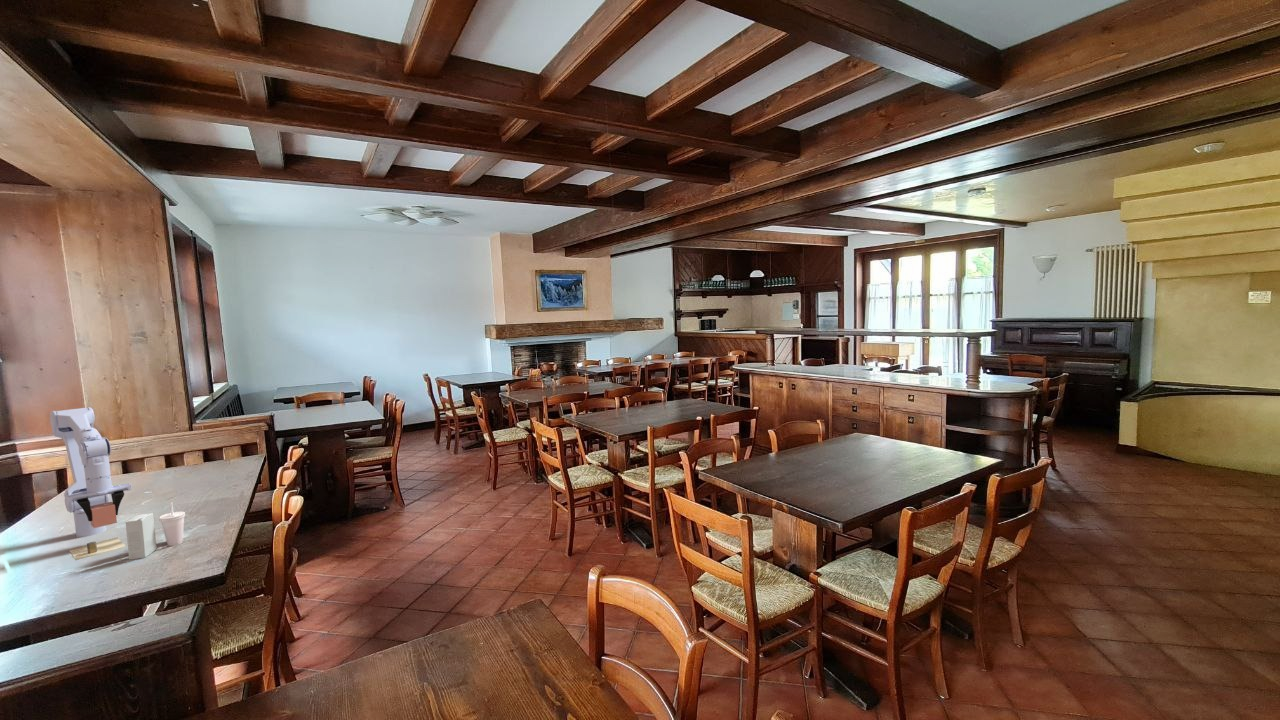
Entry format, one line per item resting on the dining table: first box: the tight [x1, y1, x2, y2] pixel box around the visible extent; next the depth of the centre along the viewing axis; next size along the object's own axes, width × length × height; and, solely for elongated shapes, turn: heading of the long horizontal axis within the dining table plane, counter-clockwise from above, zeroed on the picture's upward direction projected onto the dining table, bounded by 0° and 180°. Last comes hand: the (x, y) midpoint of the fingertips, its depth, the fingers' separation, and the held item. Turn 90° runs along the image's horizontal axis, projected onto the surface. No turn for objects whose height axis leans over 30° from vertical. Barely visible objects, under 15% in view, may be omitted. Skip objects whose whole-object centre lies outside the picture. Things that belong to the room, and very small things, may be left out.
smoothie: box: [158, 501, 186, 547], centre depth 169 cm, size 6×6×14 cm
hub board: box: [68, 537, 127, 561], centre depth 166 cm, size 13×11×4 cm
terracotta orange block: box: [90, 501, 118, 528], centre depth 169 cm, size 5×5×6 cm
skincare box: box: [125, 512, 158, 560], centre depth 161 cm, size 6×4×12 cm
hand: (103, 517), depth 169 cm, fingers closed on terracotta orange block, 5 cm apart
